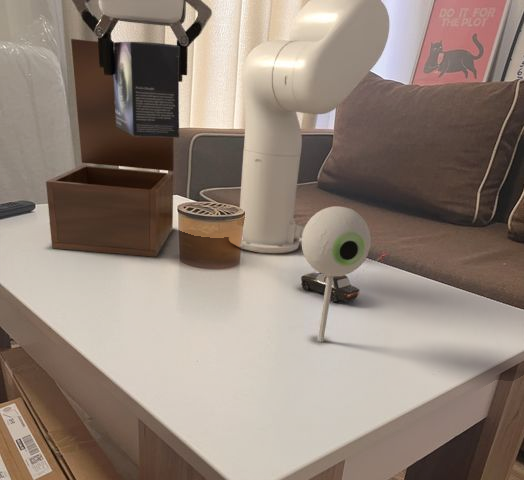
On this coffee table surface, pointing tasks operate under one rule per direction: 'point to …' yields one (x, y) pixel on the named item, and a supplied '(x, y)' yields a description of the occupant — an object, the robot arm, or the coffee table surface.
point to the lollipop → (335, 247)
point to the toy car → (339, 286)
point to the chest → (110, 210)
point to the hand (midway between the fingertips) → (144, 77)
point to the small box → (147, 88)
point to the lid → (109, 119)
